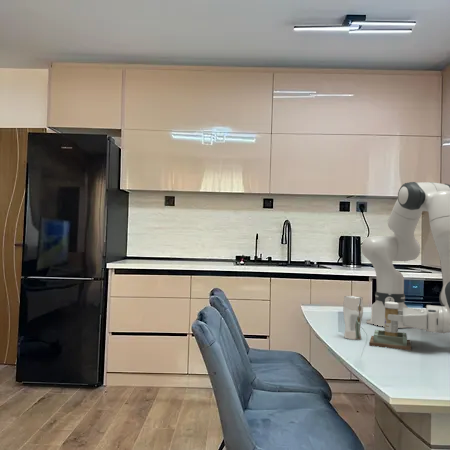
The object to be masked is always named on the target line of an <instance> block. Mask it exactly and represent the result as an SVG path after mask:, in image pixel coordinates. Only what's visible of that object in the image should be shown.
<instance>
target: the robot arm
mask: <svg viewBox="0 0 450 450" xmlns="http://www.w3.org/2000/svg"><path fill="white" fill-rule="evenodd" d="M423 212H427V213H428V221H429V227H430V231H431V236H432V238H433V241H434V245H435V247H436V248H435V249H436V250H437V253H438V257H439V262H440V263H439V264H440V271H441V279H442V287H441V291H440V293H439V297H438V298H439V303H440V305H431V304H426V306H425V308H413V307H412V308H411V307H408V306H407V304H406V303H405V302H406V295H405V292H404V291H405V276H404V275H403V274H402V272H401V271H399V270H398V269H396V268H395V267H394V263H393V262H408V261H409V262H410V261H414V260H416V259H417V258H418V257H419V255H420V254H421V246H420V243H419V241H418V240H417V239H416V237H415V231H416V228H417V226H418V223H419V220H420V218H421V216H422V214H423ZM387 226H388V229H389V230H390V231H391V232H393V234H392V235H372V236H367V237H366V238H364V240H363V241H362V244H361V253H362V254H363V255H362V256H364V258H366V259H367V260H368V261H369V262H370V264H371V265H372V266H373V269H374V272H375V277H376V278H375V279H376V291H375V294H374V295H375V302H373V303H372V304H371V314H370V317H371V318H370V319H368V320H366V323H367V324H369V325H370V324H371V325H373V324H374V325H373V326H377V325H378V326H377V327H382V326H383V328H384V327H385V302H396V303H398V304H399V308H398V315H393V314H388V320H394V321H398V329H405V328H413V329H418V330H419V329H420V330H424V331H425V330H426V332H428V333H437V334H446V333H450V184H449V183H440V182H432V181H426V182H425V181H423V182H422V181H421V182H420V181H419V182H418V181H417V182H416V181H410V182H405V183H403V184H402V185H401V186H400V188H399V189H398V192H397V199H396V201H395V203H394V205H393V207H392V210H391V212H390V215H389V217H388V220H387Z"/></svg>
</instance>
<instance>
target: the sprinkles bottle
mask: <svg viewBox="0 0 450 450" xmlns="http://www.w3.org/2000/svg"><path fill="white" fill-rule="evenodd" d="M398 308H399V304H398V303H396V302H385V327H383V329H384V330H383V331H385V336H394V337H397V336H398V335H397V334H398V332H399V328H398V321H394V320H388V314H393V315H398Z"/></svg>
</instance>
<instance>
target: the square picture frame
mask: <svg viewBox="0 0 450 450" xmlns="http://www.w3.org/2000/svg"><path fill="white" fill-rule="evenodd" d="M397 335H398V336H397V337H394V336H385V331H384V330H381V329H375V330H374V332H373V335H371V336H370V339H369V342H368V346H369V347H377V346H379V347H378V348H385V347H387V348H388V349H395V350H396V349H397V350H403V351H404V350H405V351H412V344H411V343H412V342H411V339H408V338H407V335H408V334H407V332H401V331H398V334H397ZM387 348H386V349H387Z"/></svg>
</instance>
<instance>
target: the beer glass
mask: <svg viewBox="0 0 450 450" xmlns="http://www.w3.org/2000/svg"><path fill="white" fill-rule="evenodd" d="M363 298H364V297H362V296H357V295H356V296H354V295H344V297H343V307H342V308H343V309H342V311H343V319H344V333H343V338H344V339H346V340H352V341H361V340H362V334H361V325H362V320H363V314H364V301H363Z"/></svg>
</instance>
